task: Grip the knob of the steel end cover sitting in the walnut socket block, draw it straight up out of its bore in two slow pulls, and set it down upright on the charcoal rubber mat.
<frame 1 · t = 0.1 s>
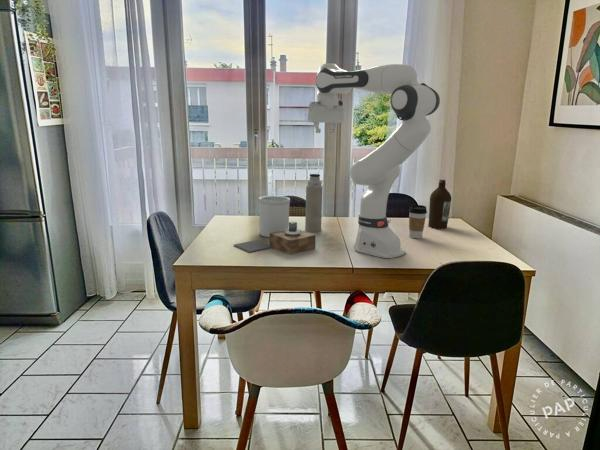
hand: (325, 132, 199), 48 cm above the table, tool pointing down, fingers open, 8 cm apart
mat: (253, 246, 186), on the table
end cover: (292, 242, 186), point 2 cm above the table, touching socket block
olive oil: (437, 227, 226), on the table
socket block: (292, 247, 186), on the table
coffee cup: (415, 237, 207), on the table
thermos bottle: (313, 230, 215), on the table
utensil holder: (274, 234, 207), on the table
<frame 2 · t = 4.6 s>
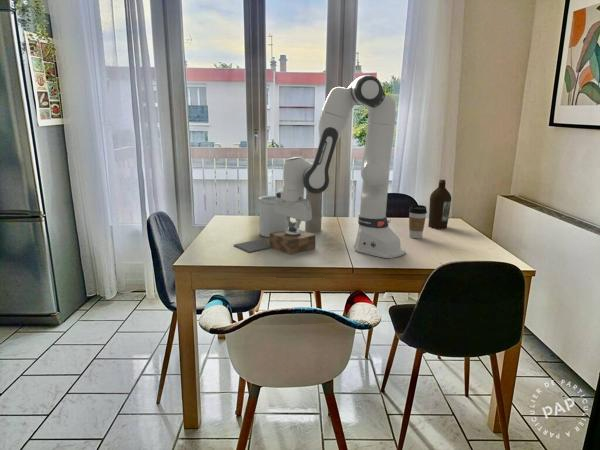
hand: (292, 227, 184), 9 cm above the table, tool pointing down, fingers closed on end cover, 3 cm apart
end cover: (292, 242, 186), point 2 cm above the table, touching gripper, socket block
everything else where it was.
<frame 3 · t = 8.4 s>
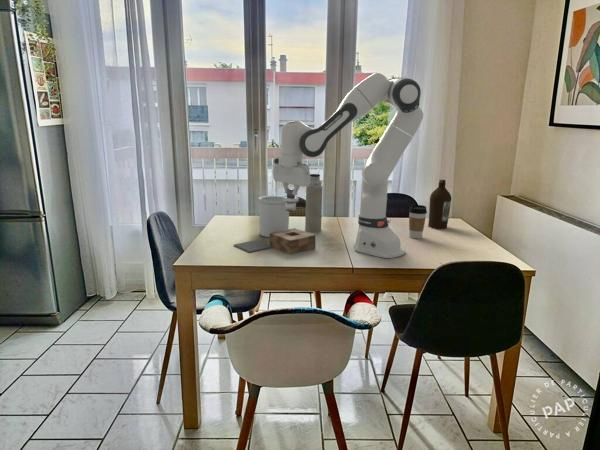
hand: (290, 194, 180), 23 cm above the table, tool pointing down, fingers closed on end cover, 3 cm apart
end cover: (290, 210, 182), point 16 cm above the table, touching gripper
everything else where it was.
when the fingers open (9 cm above the table, at t = 12.4 s): end cover drops 1 cm, resting on mat.
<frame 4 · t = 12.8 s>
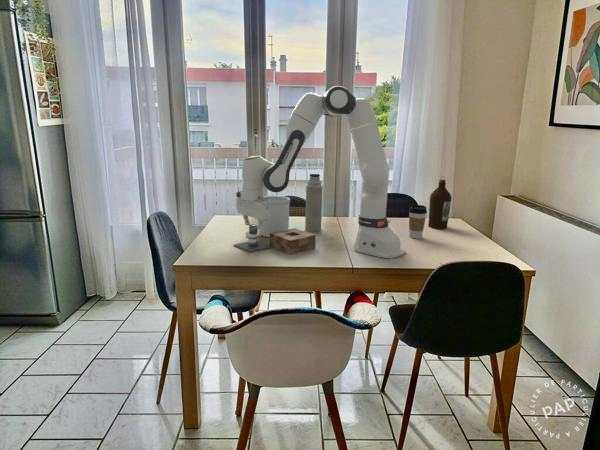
hand: (253, 226, 184), 9 cm above the table, tool pointing down, fingers open, 7 cm apart
end cover: (253, 245, 186), point 1 cm above the table, touching mat
everything else where it was.
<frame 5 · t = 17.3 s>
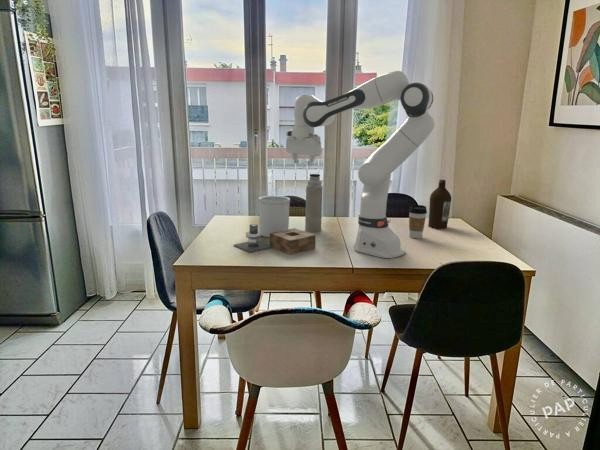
hand: (303, 164, 193), 34 cm above the table, tool pointing down, fingers open, 8 cm apart
nothing on the table moved.
at the end: end cover inside the target area on the mat (0.1 cm from its centre), point 0.7 cm above the mat's base; end cover tilted 1°; end cover touching mat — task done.
